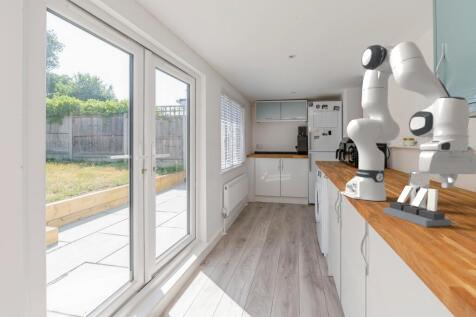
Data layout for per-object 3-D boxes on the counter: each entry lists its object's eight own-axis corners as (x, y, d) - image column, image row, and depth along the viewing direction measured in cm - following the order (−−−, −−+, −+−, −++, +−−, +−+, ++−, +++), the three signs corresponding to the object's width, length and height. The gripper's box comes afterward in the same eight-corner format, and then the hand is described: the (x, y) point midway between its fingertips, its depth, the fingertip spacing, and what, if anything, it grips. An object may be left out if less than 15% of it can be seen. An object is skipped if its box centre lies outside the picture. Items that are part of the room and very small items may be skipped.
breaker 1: (397, 201, 94) (406, 185, 95) (398, 202, 94) (407, 186, 95) (402, 202, 92) (411, 186, 92) (404, 203, 92) (413, 187, 93)
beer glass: (403, 207, 104) (405, 171, 104) (413, 206, 107) (415, 171, 106) (421, 211, 98) (423, 173, 97) (431, 210, 101) (434, 173, 100)
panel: (383, 212, 95) (383, 202, 94) (404, 211, 97) (405, 201, 97) (426, 226, 78) (426, 214, 78) (451, 225, 80) (451, 213, 80)
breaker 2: (411, 204, 88) (420, 188, 89) (413, 206, 89) (422, 189, 89) (417, 206, 86) (427, 189, 87) (419, 207, 86) (429, 190, 87)
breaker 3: (427, 209, 82) (428, 188, 82) (429, 209, 83) (430, 188, 82) (434, 211, 80) (435, 189, 80) (436, 211, 80) (438, 189, 80)
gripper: (463, 146, 87) (461, 186, 87) (415, 145, 82) (414, 186, 83) (484, 146, 81) (482, 188, 81) (434, 144, 76) (432, 189, 77)
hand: (447, 187), depth 82 cm, fingers closed
